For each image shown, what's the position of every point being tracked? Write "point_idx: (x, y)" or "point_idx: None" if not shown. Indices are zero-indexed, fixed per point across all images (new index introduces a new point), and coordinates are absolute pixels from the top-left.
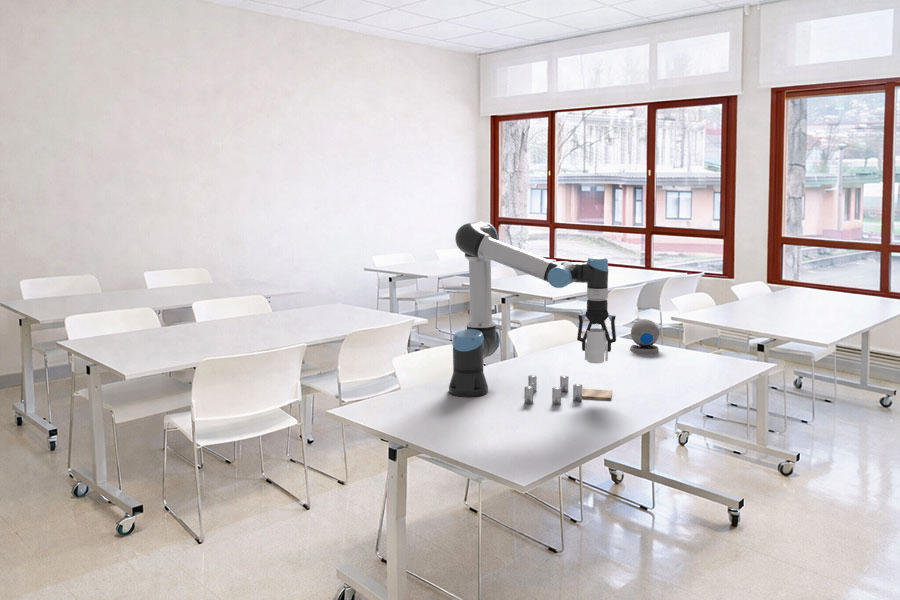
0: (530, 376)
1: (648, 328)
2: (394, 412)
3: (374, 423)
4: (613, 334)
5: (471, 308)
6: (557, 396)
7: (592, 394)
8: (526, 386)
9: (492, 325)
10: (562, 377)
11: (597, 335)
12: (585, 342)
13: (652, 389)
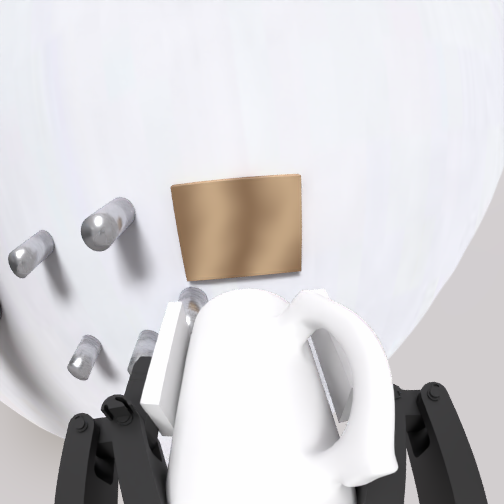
0: (16, 270)
1: None
2: (2, 387)
3: (22, 413)
4: (423, 468)
5: None
6: None
7: (232, 252)
8: (68, 366)
9: None
10: (95, 250)
11: None
12: (155, 424)
13: (422, 104)
